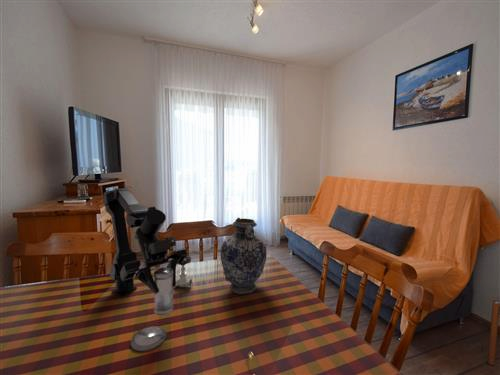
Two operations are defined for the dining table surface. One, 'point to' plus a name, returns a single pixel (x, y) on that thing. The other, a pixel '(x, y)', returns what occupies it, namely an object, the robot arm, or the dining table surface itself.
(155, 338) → the silver flat disc
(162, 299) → the grey piece
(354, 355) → the dining table surface
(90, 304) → the dining table surface
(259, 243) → the decorative vase
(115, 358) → the dining table surface
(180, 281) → the valve
